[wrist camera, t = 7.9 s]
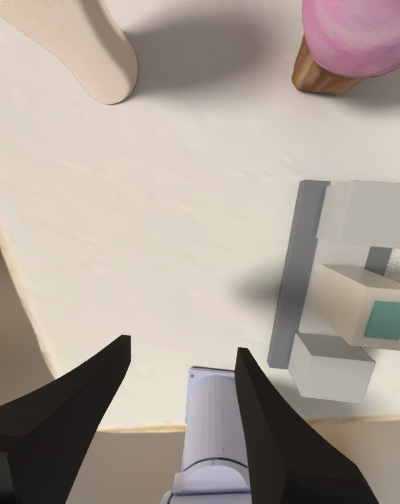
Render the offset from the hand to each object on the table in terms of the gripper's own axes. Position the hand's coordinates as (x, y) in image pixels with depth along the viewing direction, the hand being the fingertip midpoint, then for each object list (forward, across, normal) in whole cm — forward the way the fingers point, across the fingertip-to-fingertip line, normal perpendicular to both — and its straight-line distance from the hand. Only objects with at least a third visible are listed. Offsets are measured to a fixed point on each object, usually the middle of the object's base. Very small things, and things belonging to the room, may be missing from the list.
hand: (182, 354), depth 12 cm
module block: (+9, -15, -2) cm, 18 cm away
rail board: (+10, -15, -2) cm, 18 cm away
